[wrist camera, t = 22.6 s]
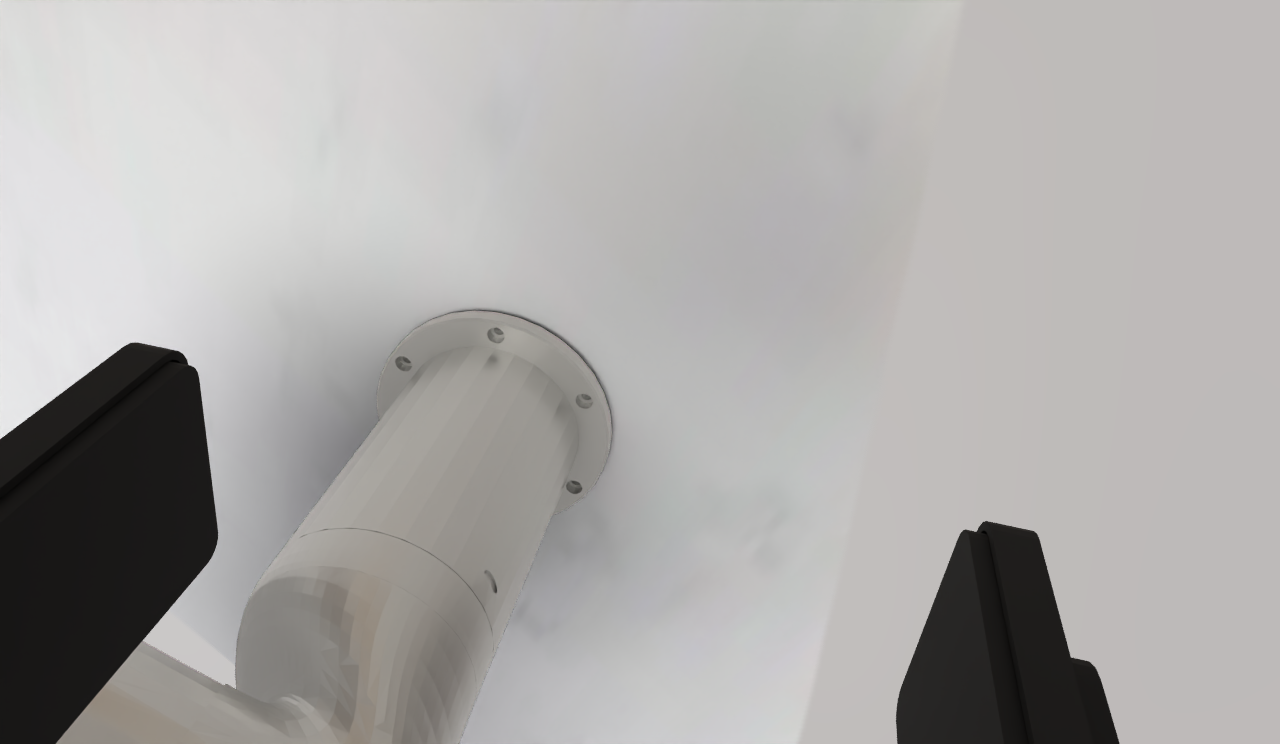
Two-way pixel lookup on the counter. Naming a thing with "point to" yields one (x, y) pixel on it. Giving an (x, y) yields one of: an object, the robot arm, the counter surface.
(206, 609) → the counter surface
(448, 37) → the counter surface
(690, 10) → the counter surface
